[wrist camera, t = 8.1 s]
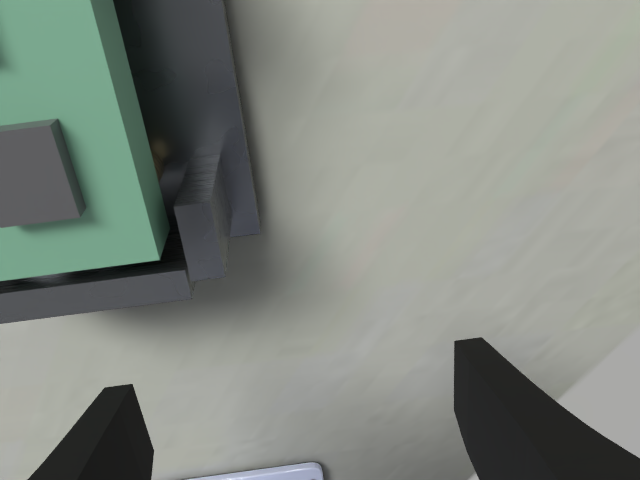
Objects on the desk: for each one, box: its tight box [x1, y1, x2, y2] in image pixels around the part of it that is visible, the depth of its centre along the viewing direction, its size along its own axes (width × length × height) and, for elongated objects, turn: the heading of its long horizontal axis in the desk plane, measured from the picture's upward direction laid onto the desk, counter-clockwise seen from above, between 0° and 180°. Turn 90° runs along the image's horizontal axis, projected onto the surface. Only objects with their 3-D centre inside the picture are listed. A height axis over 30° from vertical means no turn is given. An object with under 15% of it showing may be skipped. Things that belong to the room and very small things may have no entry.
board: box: [0, 0, 170, 281], centre depth 15 cm, size 5×9×3 cm, turn 6°
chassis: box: [0, 0, 260, 324], centre depth 17 cm, size 10×12×5 cm
